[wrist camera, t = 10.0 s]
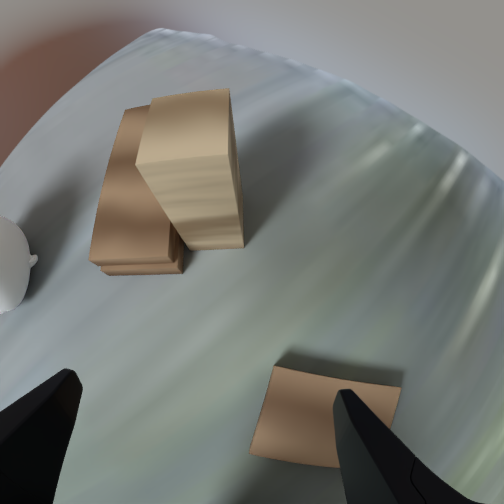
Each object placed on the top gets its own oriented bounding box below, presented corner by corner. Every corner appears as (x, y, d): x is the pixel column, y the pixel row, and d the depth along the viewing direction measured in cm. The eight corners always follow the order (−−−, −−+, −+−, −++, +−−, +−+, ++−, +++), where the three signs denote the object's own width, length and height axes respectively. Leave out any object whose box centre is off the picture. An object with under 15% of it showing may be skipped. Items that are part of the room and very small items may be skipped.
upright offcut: (244, 247, 24) (228, 154, 12) (190, 250, 24) (135, 164, 13) (242, 195, 25) (229, 88, 14) (192, 198, 26) (152, 98, 14)
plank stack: (182, 273, 23) (171, 261, 20) (106, 275, 23) (87, 264, 20) (194, 119, 29) (189, 98, 26) (134, 128, 29) (125, 109, 26)
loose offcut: (369, 463, 17) (375, 469, 16) (249, 447, 18) (248, 453, 17) (392, 386, 19) (401, 387, 18) (273, 365, 21) (274, 366, 19)
